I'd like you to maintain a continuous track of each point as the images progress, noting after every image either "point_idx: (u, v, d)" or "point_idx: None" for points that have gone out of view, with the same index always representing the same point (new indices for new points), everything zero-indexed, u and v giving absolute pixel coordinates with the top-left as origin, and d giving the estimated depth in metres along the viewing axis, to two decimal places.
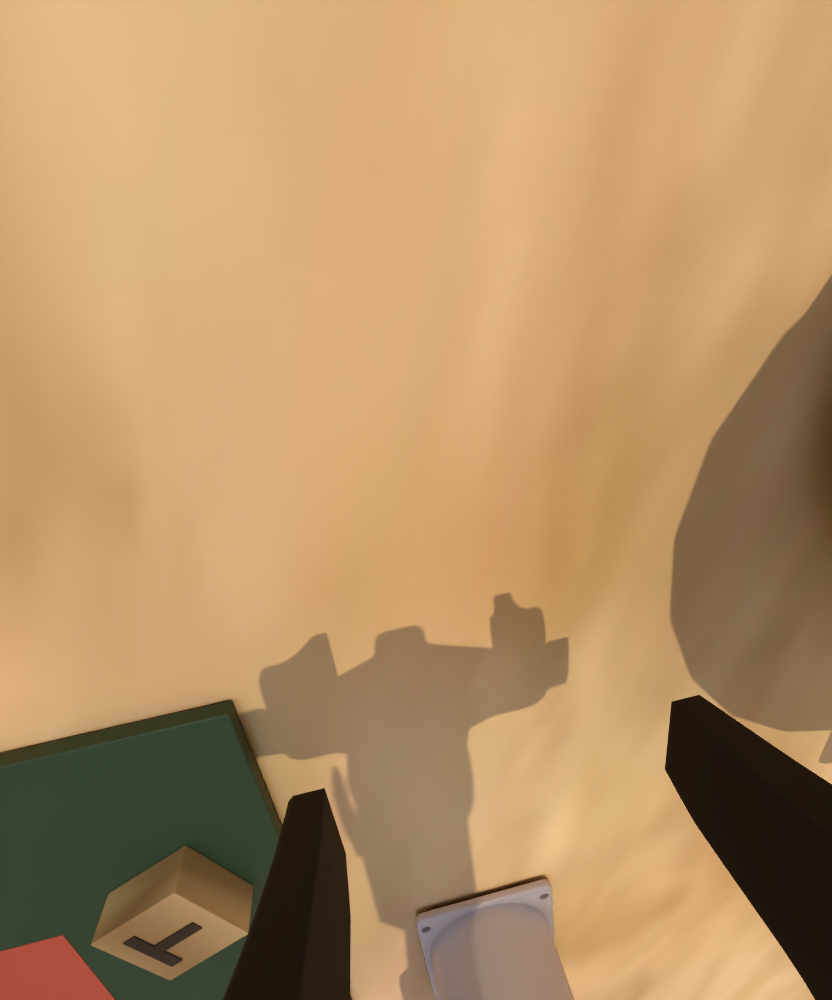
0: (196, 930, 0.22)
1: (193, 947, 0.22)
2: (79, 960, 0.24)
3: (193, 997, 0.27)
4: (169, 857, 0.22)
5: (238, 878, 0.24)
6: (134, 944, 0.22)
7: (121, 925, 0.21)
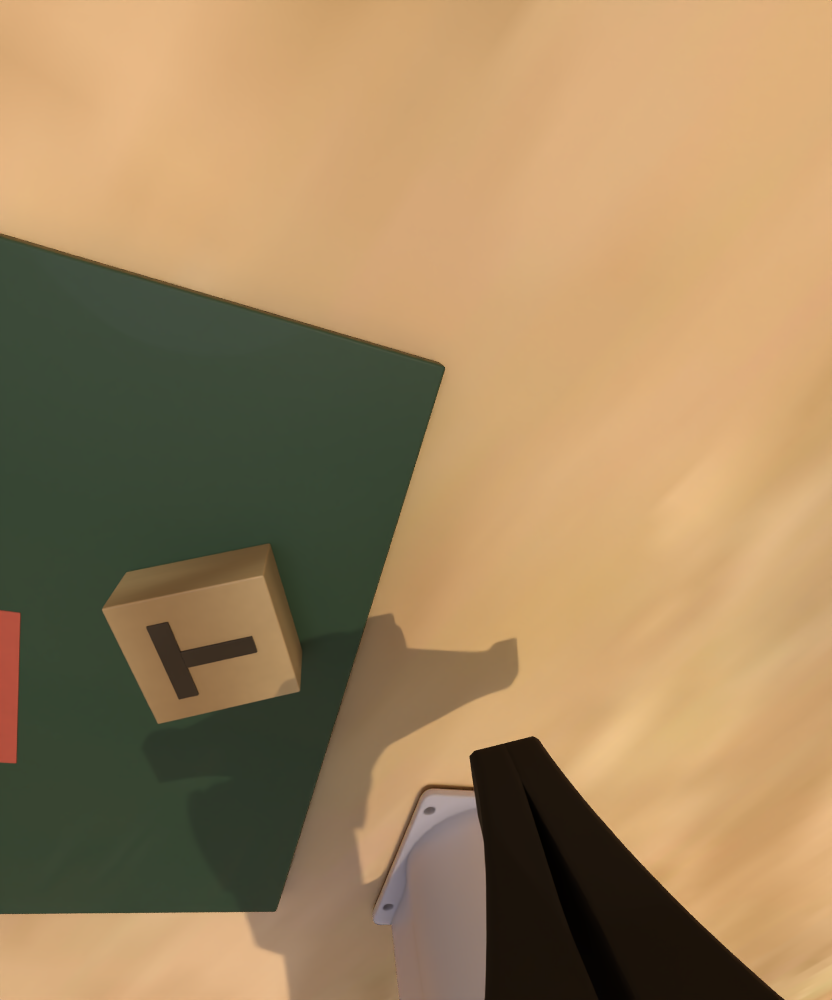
0: (246, 654, 0.15)
1: (225, 679, 0.16)
2: (13, 667, 0.17)
3: (118, 797, 0.19)
4: (241, 550, 0.16)
5: (295, 628, 0.18)
6: (158, 636, 0.15)
7: (163, 595, 0.14)
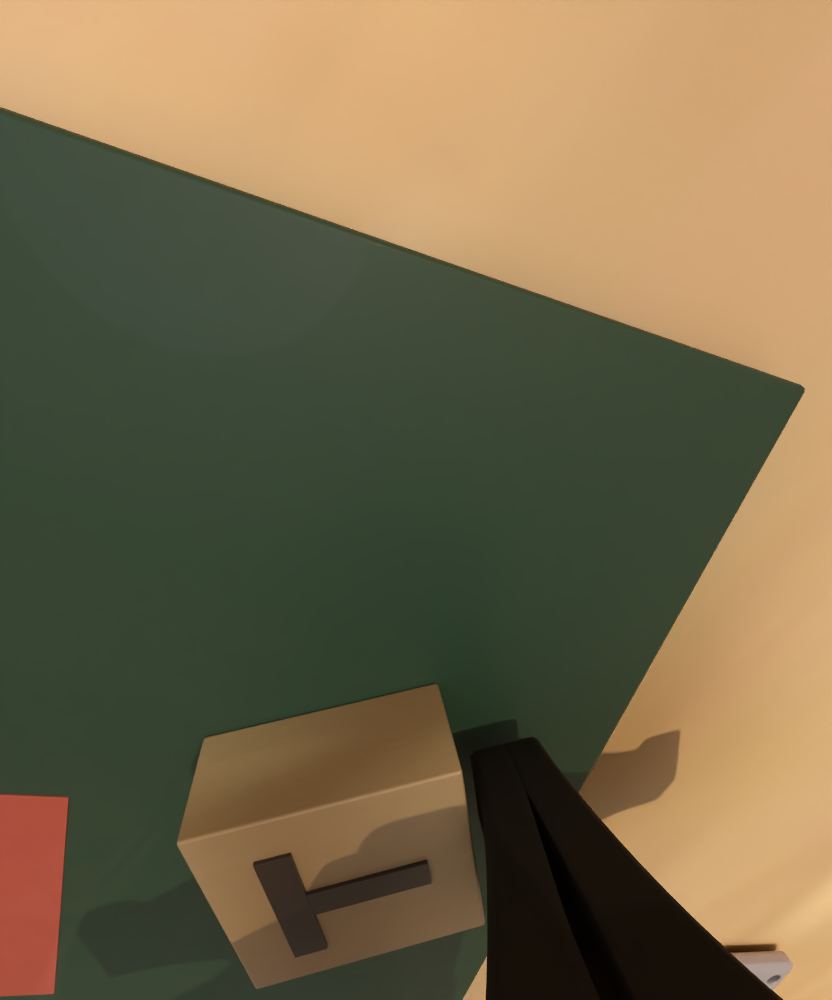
0: (413, 885, 0.09)
1: (372, 921, 0.09)
2: (54, 873, 0.10)
3: None
4: (393, 697, 0.10)
5: None
6: (273, 876, 0.08)
7: (286, 814, 0.08)
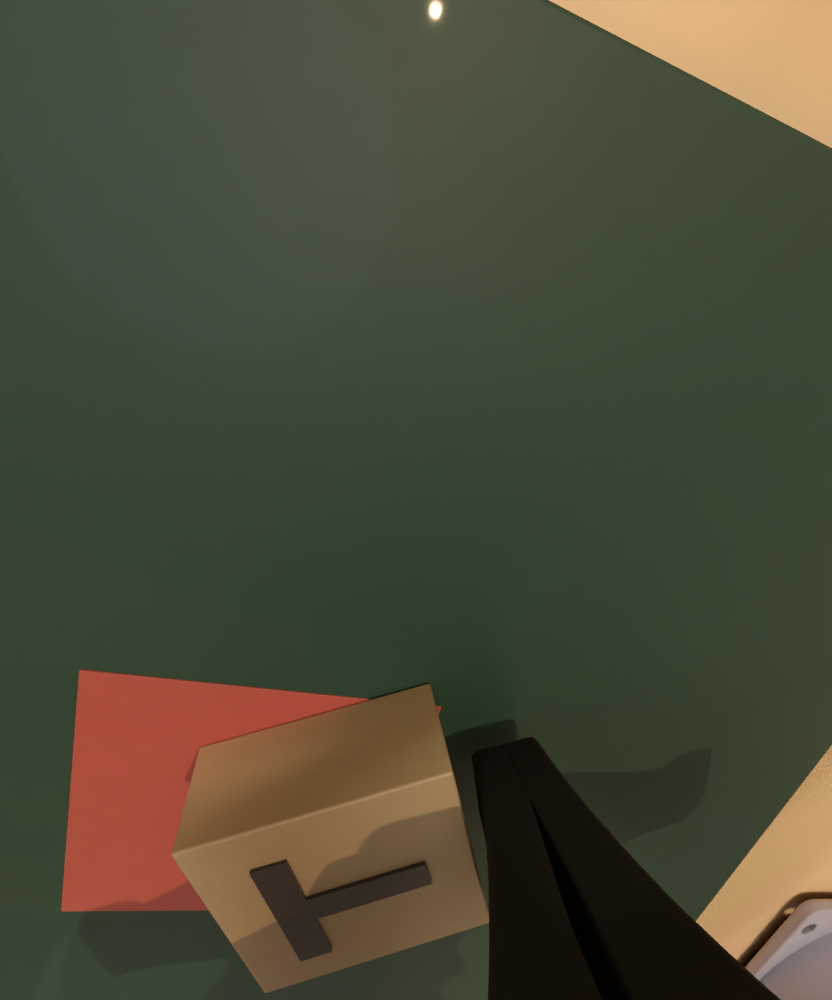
0: (413, 886, 0.09)
1: (375, 923, 0.09)
2: None
3: (468, 941, 0.14)
4: (386, 700, 0.10)
5: None
6: (270, 882, 0.08)
7: (278, 822, 0.08)
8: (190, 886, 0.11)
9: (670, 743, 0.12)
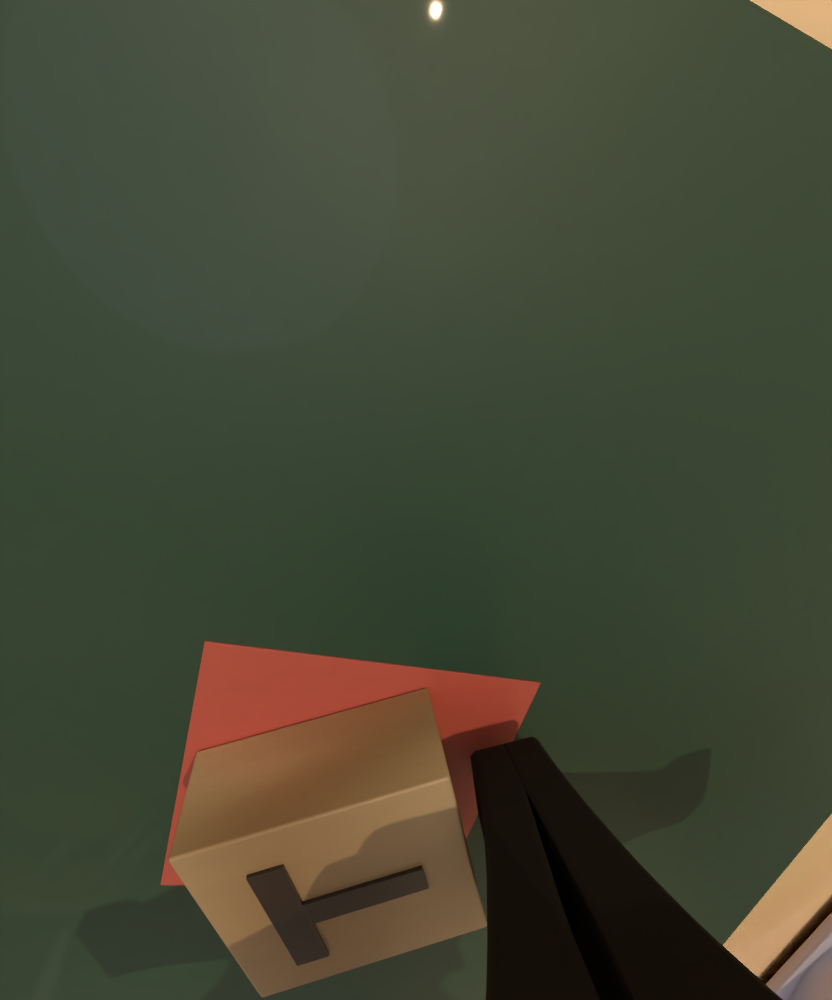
0: (410, 891, 0.09)
1: (372, 928, 0.09)
2: None
3: None
4: (383, 704, 0.10)
5: None
6: (267, 887, 0.08)
7: (275, 827, 0.08)
8: None
9: (752, 722, 0.12)
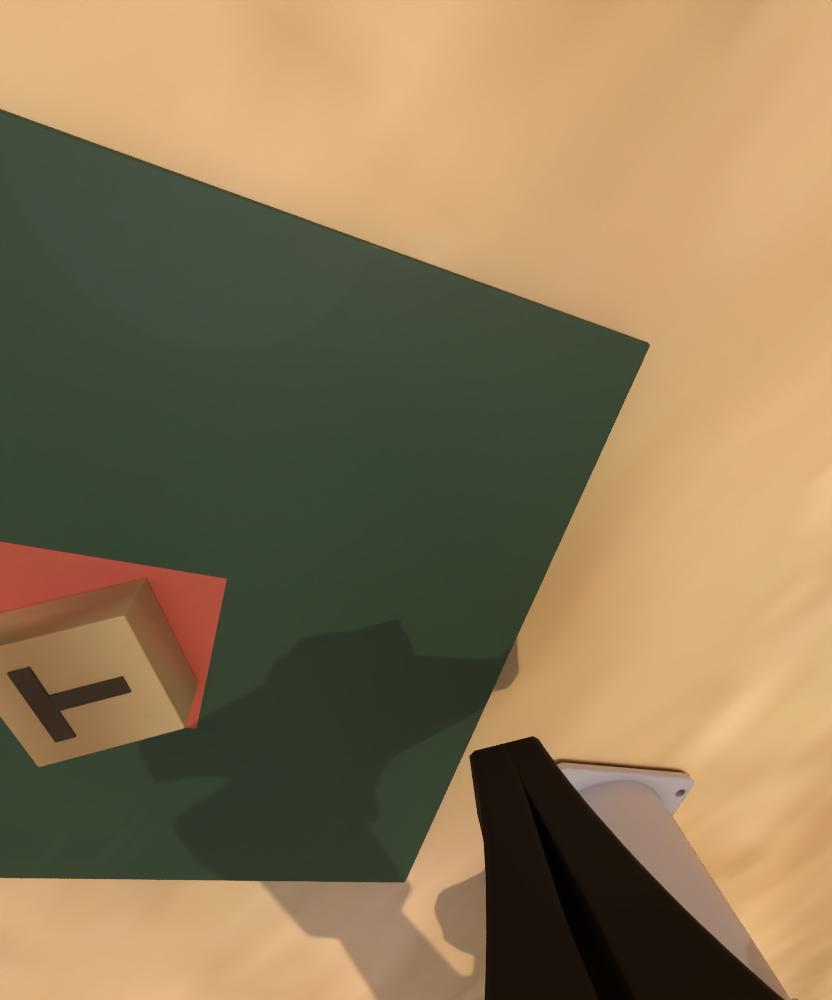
0: (120, 694, 0.15)
1: (102, 720, 0.15)
2: (210, 633, 0.17)
3: (282, 764, 0.20)
4: (115, 586, 0.16)
5: (186, 661, 0.17)
6: (22, 681, 0.14)
7: (20, 641, 0.14)
8: None
9: (397, 616, 0.18)
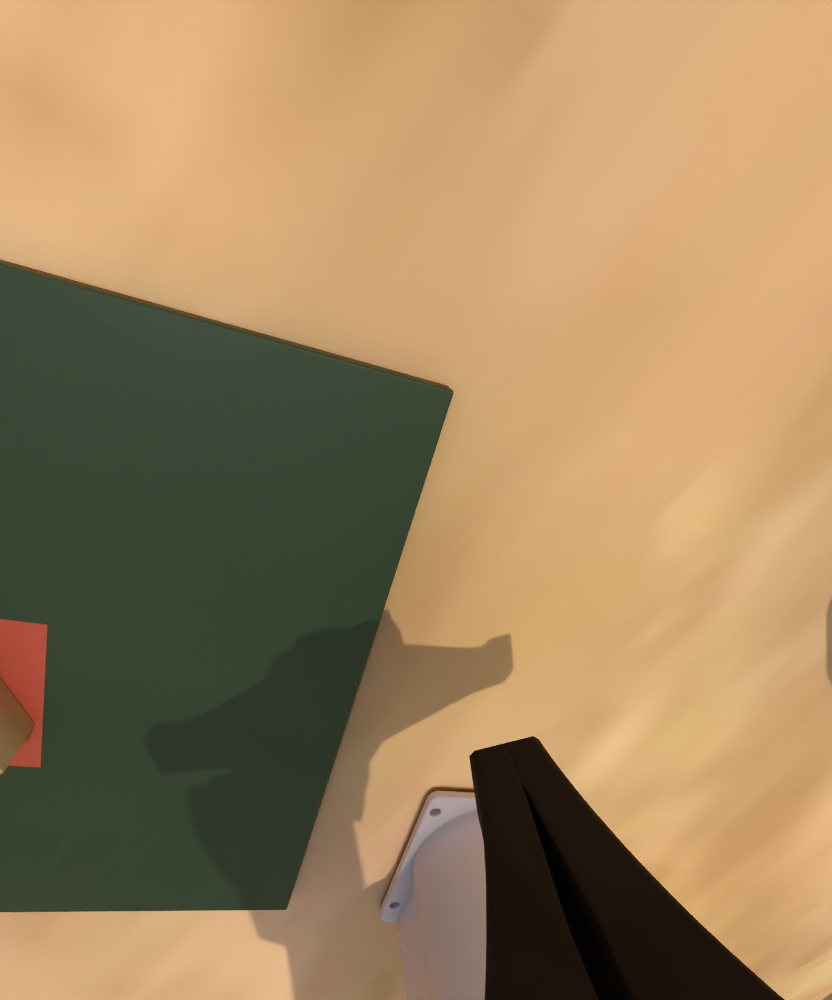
0: None
1: None
2: (39, 676, 0.17)
3: (136, 799, 0.20)
4: None
5: (18, 704, 0.17)
6: None
7: None
8: None
9: (232, 656, 0.18)
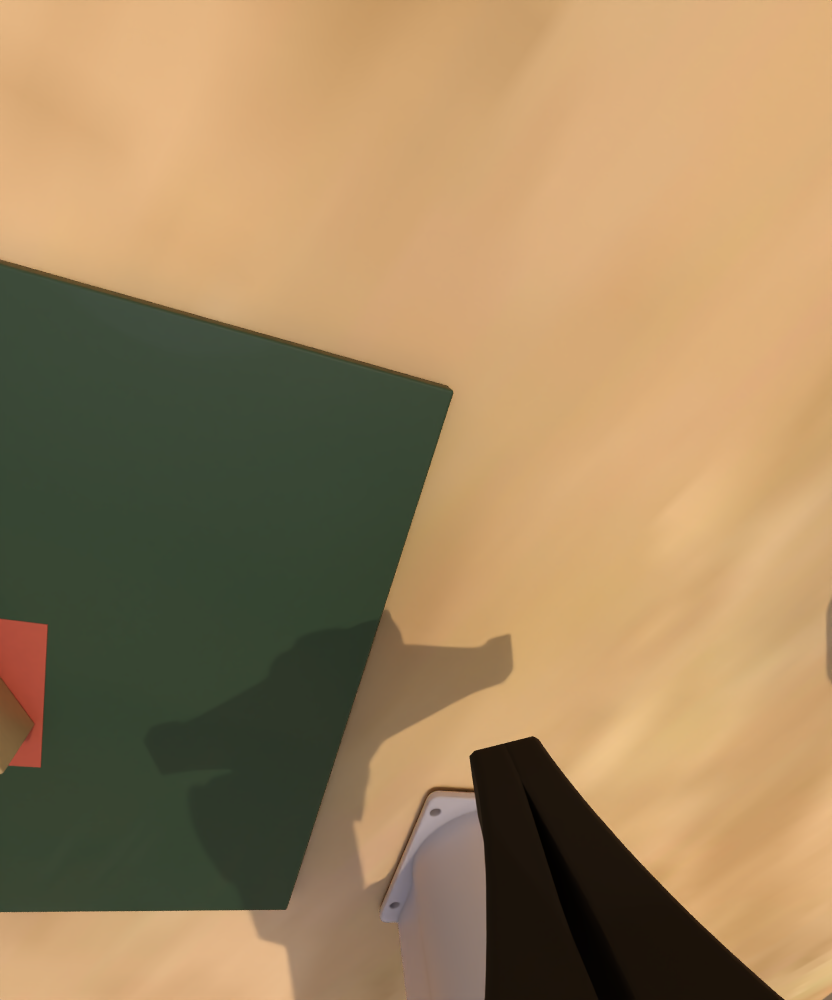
0: None
1: None
2: (39, 676, 0.17)
3: (136, 799, 0.20)
4: None
5: (18, 704, 0.17)
6: None
7: None
8: None
9: (232, 656, 0.18)
